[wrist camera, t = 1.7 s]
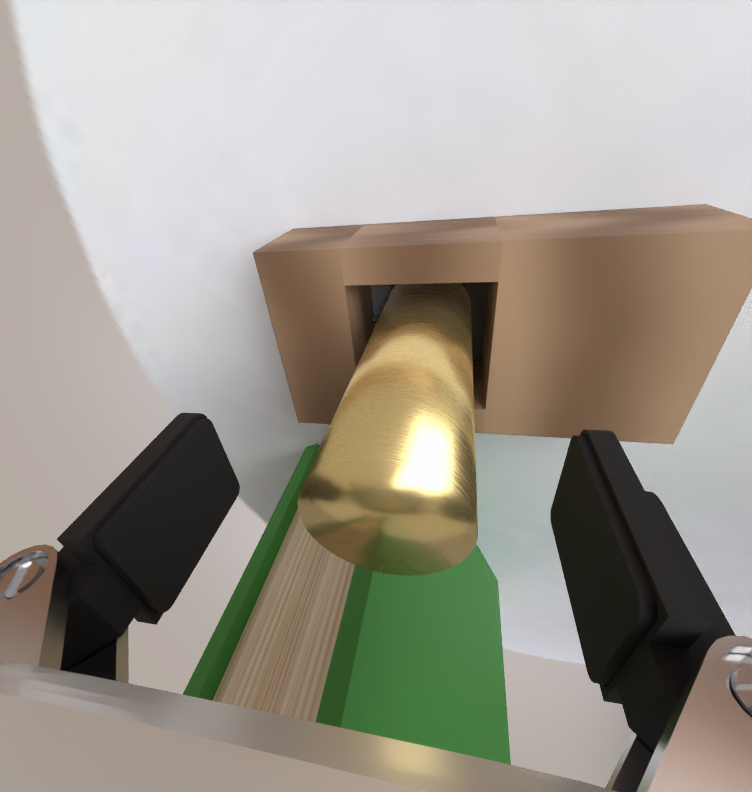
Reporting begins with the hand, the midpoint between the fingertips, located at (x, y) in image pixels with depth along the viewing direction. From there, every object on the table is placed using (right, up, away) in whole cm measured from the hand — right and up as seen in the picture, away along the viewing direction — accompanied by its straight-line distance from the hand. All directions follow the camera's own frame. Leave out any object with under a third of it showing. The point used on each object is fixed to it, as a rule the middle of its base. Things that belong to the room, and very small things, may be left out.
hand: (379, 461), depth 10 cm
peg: (+2, +6, +8) cm, 10 cm away
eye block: (+4, +6, +7) cm, 10 cm away
